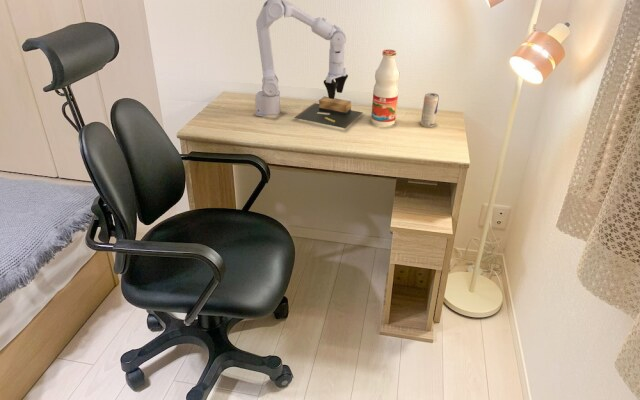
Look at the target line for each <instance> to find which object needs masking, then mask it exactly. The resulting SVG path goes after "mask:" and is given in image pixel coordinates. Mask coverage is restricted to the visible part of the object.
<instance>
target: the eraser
mask: <svg viewBox="0 0 640 400" xmlns="http://www.w3.org/2000/svg"><path fill="white" fill-rule="evenodd" d="M318 104H319V110H323V111H328V112H333V113H338V114H343V115H347V114H348V113H349V112H350V111H351V110H352V100H347V99H341V98H336V97H334V99H330V98H329V97H328V96H323V97H322V98H320V99H319V100H318Z"/></svg>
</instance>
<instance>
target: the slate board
mask: <svg viewBox="0 0 640 400" xmlns="http://www.w3.org/2000/svg"><path fill="white" fill-rule="evenodd" d="M318 112H321V113H330V115H325V114H317V113H318ZM363 113H364V112H363V111H358V110H353V109H351V111H350V112H349V113H348V114H347V115H343V114H338V113H333V112H328V111H323V110H319V103H316V102H313V104H311V105H310V106H309V107H307V108H306V109H304V110H302V111H301V112H300V113H299V114H297V115H296V116H295V117H294V119H297V120H302V121H307V122H312V123H318V124H322V125H326V126H331V127H337V128H341V129H347V128H348V127H349V126H350V125H351V124H352V123H354V121H356V120H357V119H358V118H359V117H360V116H361V115H363ZM326 117H327V118H330V119H332V120H334V121H335V122H332V121H329V120H327V119H325V118H326Z"/></svg>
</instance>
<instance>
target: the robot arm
mask: <svg viewBox="0 0 640 400" xmlns="http://www.w3.org/2000/svg"><path fill="white" fill-rule="evenodd" d="M282 17H284V18H294V19H296V20H298V21H299V22H302V23H304V24H305V25H307V26H309V27H310V29H311V32H312V33H314V34H316V35H317V36H319V37H321V38H322V39H323V40H326V41H329V50H328V51H329V52H328V53H329V55H328V72H327V75H326V77H325V79H324V80H323V85H324V87H325V89H326V92H327V97H329V98H330V99H334V98H336V93H339V94H342V93H343V91H344V86H345V84H346V81H347V79H348V78H349V74H347V73H346V71H347V68H346V67H345V44H346V43H347V38H346V34H345V32H344V31H343V29H341V28H340V27H339V26H337V25H336V24H334V25H333V24H332V23H330V22H328V21H327V19H326V18H325V17H319V16H318V17H313V16H312V15H310V14H309V13H307V12H306V11H304V10H302V9H301V8H300V7H298V6H296V5H294V4H293V3H292V2H289V1H288V0H266V1H265V2H263V5H262V8H261V10H260V12H259V14H258V16H257V17H256V19H255V20H256V22H255V25H256V34H257V40H258V47H259V54H260V55H259V56H260V63H261V69H262V79H261V81H262V85H261V90H259V91H257V92H256V94H255V99H254V103H255V113H254V116H258V117H262V118H263V117H267V116H277V115H279V114H280V113H281V91H280V90H279V78H278V76H277V75H276V72H275V71H276V70H275V65H274V57H273V56H274V55H273V48H272V41H271V32H270V27H271V26H272V24H273V23H274V22H275V21H278V20H279V19H281V18H282Z"/></svg>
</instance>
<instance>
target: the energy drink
mask: <svg viewBox="0 0 640 400" xmlns="http://www.w3.org/2000/svg"><path fill="white" fill-rule="evenodd" d="M439 100H440V97H439V94H437V93H435V92H427V93H425V94H424V97H423V104H422V111H421V112H422V113H421V119H420V124H421V126H423V127H425V128H433V127H435V125H436V120H437V114H438V113H437V112H438V107H439Z"/></svg>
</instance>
